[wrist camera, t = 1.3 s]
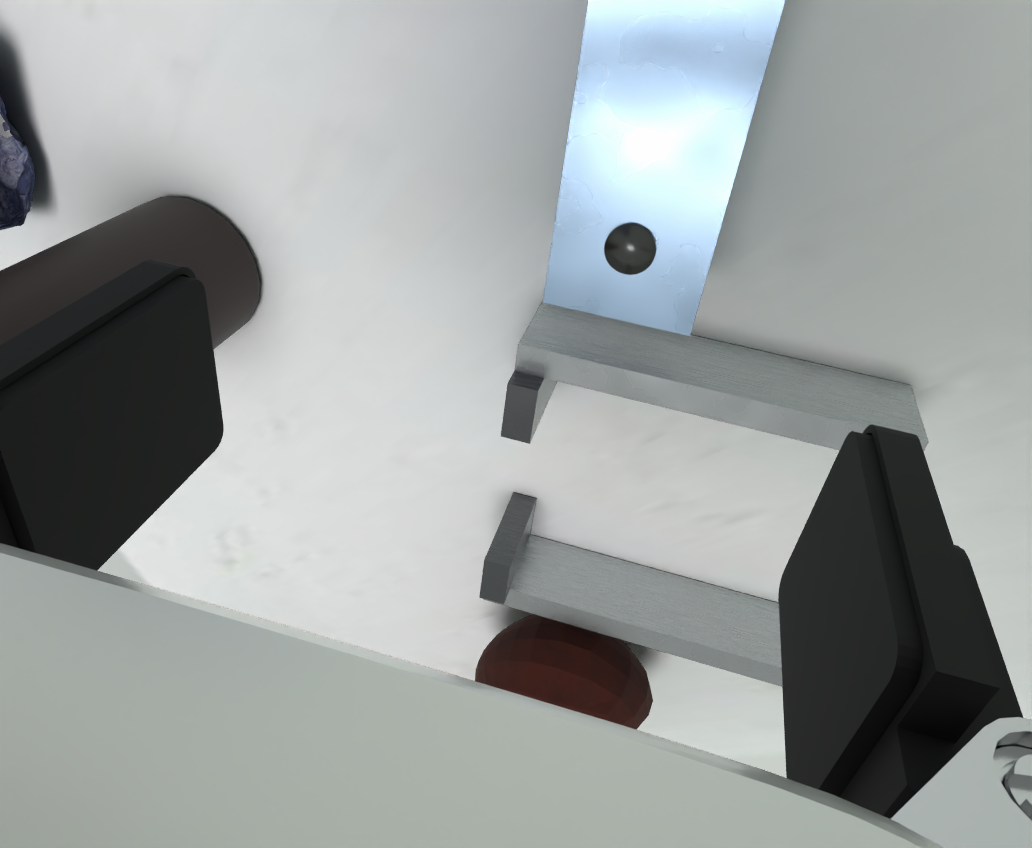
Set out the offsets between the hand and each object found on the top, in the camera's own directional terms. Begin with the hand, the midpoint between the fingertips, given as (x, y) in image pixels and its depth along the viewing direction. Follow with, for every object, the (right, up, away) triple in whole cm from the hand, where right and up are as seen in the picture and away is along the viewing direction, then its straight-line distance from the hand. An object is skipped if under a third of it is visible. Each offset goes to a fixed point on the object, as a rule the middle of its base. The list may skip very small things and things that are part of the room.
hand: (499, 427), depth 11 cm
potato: (+4, -12, +32) cm, 34 cm away
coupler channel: (+8, -2, +24) cm, 26 cm away
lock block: (+6, +11, +16) cm, 20 cm away
